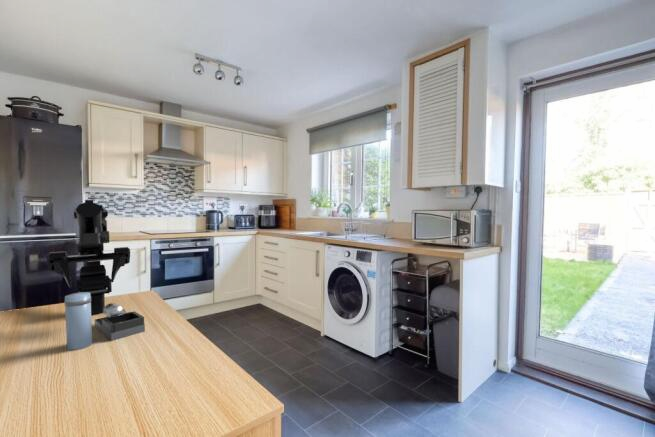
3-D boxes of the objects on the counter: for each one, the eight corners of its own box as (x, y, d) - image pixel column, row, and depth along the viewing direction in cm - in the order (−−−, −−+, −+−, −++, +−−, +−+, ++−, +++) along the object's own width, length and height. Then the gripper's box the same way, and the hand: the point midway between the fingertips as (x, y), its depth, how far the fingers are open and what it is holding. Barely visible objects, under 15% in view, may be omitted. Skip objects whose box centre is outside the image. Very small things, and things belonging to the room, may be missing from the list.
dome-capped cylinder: (64, 346, 77) (62, 295, 77) (89, 339, 81) (87, 290, 81) (69, 352, 74) (67, 299, 74) (95, 344, 78) (93, 294, 78)
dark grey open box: (94, 326, 90) (94, 306, 90) (125, 318, 96) (125, 299, 96) (111, 340, 81) (110, 318, 80) (144, 331, 87) (144, 310, 86)
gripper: (45, 222, 82) (42, 273, 74) (129, 220, 93) (133, 264, 85) (50, 246, 89) (47, 295, 81) (127, 242, 100) (131, 284, 92)
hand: (92, 284), depth 85 cm, fingers open, 9 cm apart
